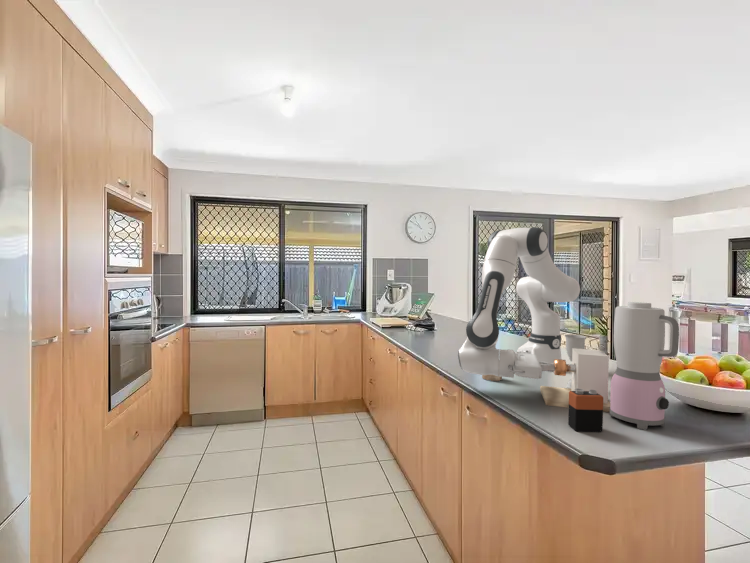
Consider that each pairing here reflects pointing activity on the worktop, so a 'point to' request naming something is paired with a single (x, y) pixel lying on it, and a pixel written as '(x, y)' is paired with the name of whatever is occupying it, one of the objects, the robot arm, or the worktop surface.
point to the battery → (585, 411)
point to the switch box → (590, 371)
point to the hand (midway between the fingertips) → (554, 367)
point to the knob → (563, 367)
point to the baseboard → (561, 397)
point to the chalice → (574, 342)
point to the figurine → (492, 377)
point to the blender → (641, 363)
